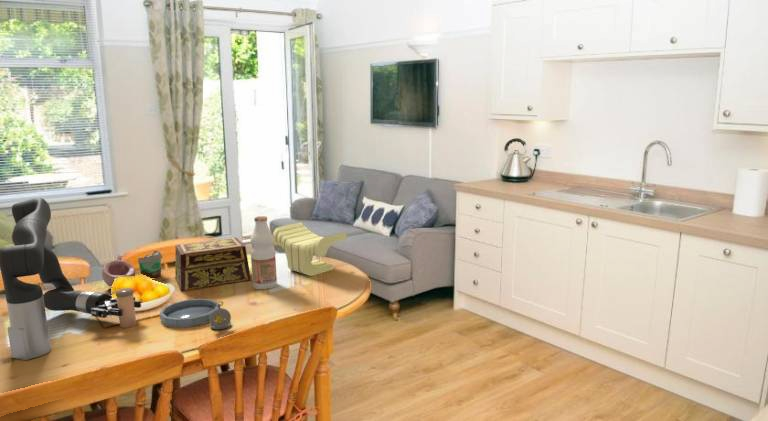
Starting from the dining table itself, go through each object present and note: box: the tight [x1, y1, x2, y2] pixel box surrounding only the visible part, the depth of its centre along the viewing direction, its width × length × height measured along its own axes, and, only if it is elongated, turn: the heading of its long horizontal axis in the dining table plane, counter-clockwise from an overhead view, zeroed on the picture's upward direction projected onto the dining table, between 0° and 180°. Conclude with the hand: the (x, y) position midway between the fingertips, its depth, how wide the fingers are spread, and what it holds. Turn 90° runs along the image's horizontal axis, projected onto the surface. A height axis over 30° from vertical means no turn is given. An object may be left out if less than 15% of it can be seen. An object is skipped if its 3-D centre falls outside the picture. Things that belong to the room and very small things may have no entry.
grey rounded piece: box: [209, 301, 232, 330], centre depth 187 cm, size 8×8×10 cm
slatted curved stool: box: [272, 221, 347, 277], centre depth 246 cm, size 30×16×18 cm, turn 47°
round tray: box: [159, 298, 219, 328], centre depth 198 cm, size 19×19×3 cm
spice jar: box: [115, 287, 137, 329], centre depth 190 cm, size 5×5×12 cm
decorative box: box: [174, 237, 252, 293], centre depth 236 cm, size 28×19×15 cm
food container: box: [137, 250, 163, 280], centre depth 241 cm, size 12×6×10 cm, turn 168°
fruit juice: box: [250, 215, 278, 290], centre depth 225 cm, size 9×9×28 cm
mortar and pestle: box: [101, 259, 136, 288], centre depth 228 cm, size 12×12×11 cm
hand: (131, 308), depth 189 cm, fingers open, 7 cm apart
